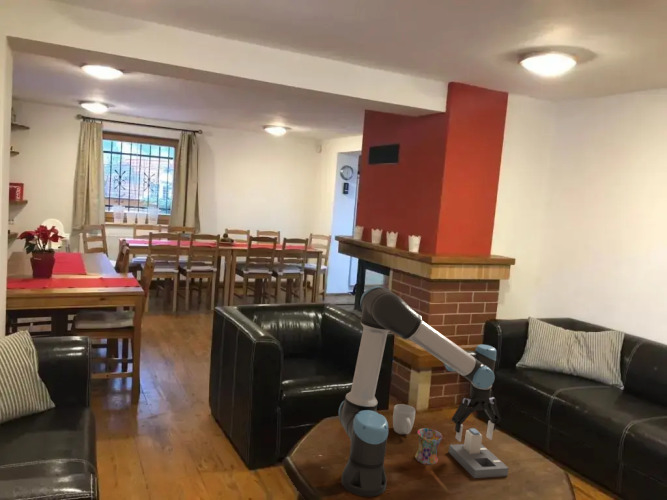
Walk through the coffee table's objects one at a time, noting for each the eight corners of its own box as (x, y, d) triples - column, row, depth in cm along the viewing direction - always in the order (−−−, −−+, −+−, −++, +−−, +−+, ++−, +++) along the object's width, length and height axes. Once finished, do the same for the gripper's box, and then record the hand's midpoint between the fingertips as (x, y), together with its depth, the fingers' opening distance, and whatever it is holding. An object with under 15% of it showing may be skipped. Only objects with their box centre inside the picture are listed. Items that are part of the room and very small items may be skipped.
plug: (468, 460, 196) (472, 433, 194) (462, 454, 200) (466, 428, 199) (478, 459, 197) (482, 433, 196) (472, 454, 201) (476, 427, 200)
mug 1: (388, 425, 220) (391, 403, 219) (409, 426, 221) (412, 404, 220) (396, 440, 207) (399, 416, 206) (418, 441, 209) (421, 417, 208)
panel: (473, 480, 184) (475, 469, 183) (448, 454, 201) (449, 444, 200) (507, 478, 188) (508, 467, 187) (479, 452, 205) (480, 442, 204)
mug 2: (441, 468, 190) (445, 441, 188) (416, 466, 189) (420, 439, 188) (433, 451, 202) (437, 426, 200) (410, 449, 201) (413, 423, 200)
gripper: (457, 390, 188) (450, 445, 190) (515, 389, 195) (507, 442, 198) (447, 382, 195) (440, 435, 197) (503, 381, 202) (495, 432, 205)
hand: (473, 439), depth 198 cm, fingers open, 13 cm apart
